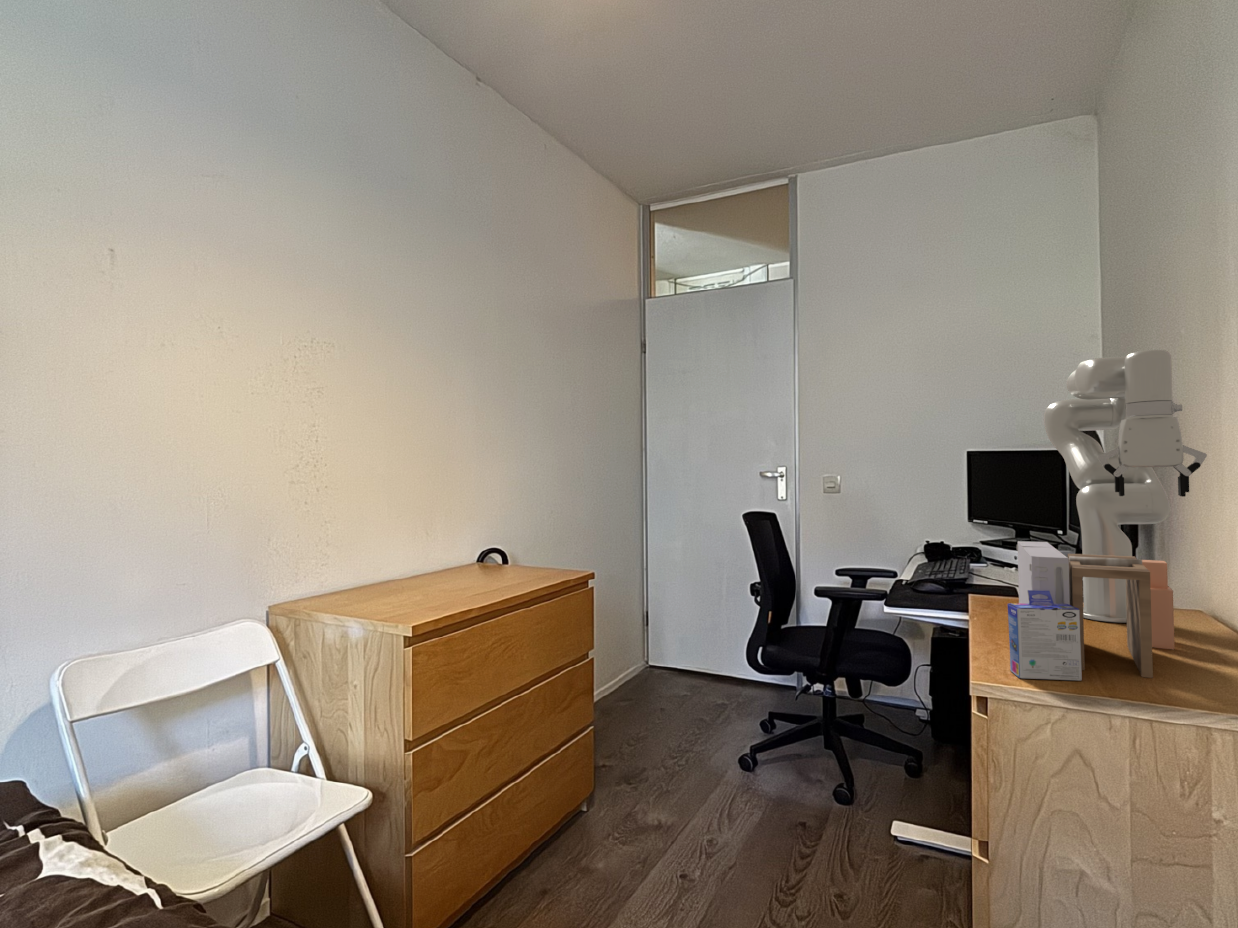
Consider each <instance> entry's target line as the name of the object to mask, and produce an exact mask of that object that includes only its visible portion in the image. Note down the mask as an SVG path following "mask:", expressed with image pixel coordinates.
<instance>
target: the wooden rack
mask: <svg viewBox="0 0 1238 928" xmlns="http://www.w3.org/2000/svg"><path fill="white" fill-rule="evenodd" d="M1067 557H1068V558H1069V598H1070V605H1071V606H1073V607H1075V608H1078V609H1079V610H1080V645H1081V671H1086V670H1085V666H1086V665H1085V631H1084V629H1085V628H1084V618H1083V607H1084V596H1083V577H1094V578H1112V579H1126V612H1127V623H1126V645H1127V649H1128V651H1129V653H1130V655H1131V657H1132V660H1133V662H1134V664H1135V666H1136V668H1137V670H1138V672H1139V675H1140V676H1141V677H1142V678H1147V679H1148V678H1149V679H1154V673H1153V670H1154V669H1153V666H1154V665H1153V647H1152V625H1151V586H1150V571H1149V570H1148V569H1147V568H1146V567H1145V566H1144V565H1143V564H1142V560H1143V559H1140V558H1137V557H1136V556H1135V555H1134V556H1133V555H1132V556H1111V555H1088V554H1082V553H1067Z"/></svg>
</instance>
